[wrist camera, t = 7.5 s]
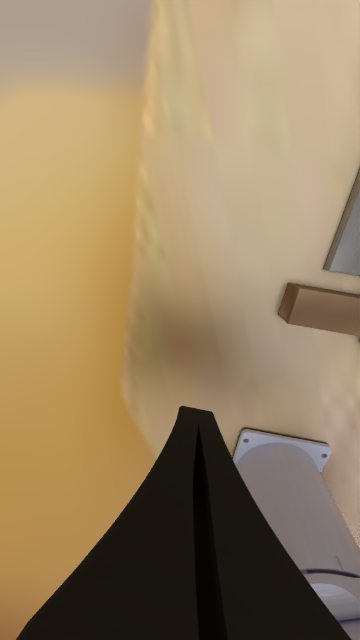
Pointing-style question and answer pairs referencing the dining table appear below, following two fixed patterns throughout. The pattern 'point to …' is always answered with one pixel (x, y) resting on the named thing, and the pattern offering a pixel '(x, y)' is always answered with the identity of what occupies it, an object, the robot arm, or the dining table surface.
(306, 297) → the trammel rail
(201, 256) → the dining table surface
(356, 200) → the flange plate
